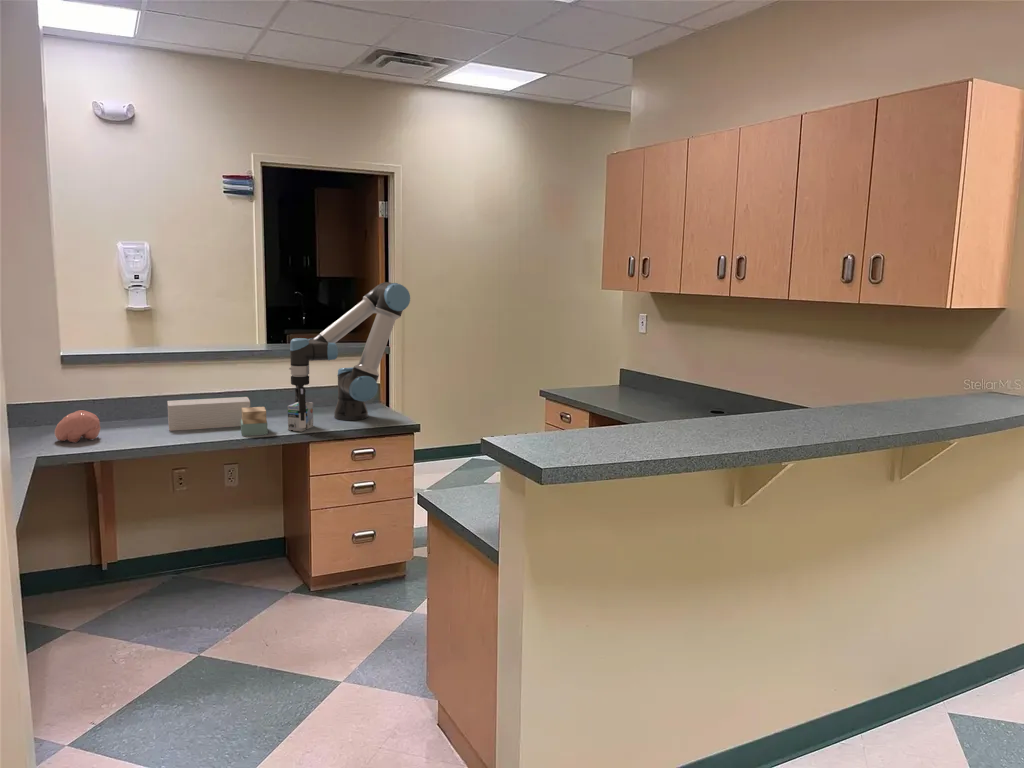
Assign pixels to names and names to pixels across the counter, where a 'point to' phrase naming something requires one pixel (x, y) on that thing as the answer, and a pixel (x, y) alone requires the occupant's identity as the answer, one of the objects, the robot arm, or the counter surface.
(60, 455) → the counter surface
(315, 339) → the robot arm
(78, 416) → the brain
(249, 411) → the tower top block
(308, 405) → the light bulb box
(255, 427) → the tower base slab
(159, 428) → the counter surface
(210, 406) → the pale grey long block
